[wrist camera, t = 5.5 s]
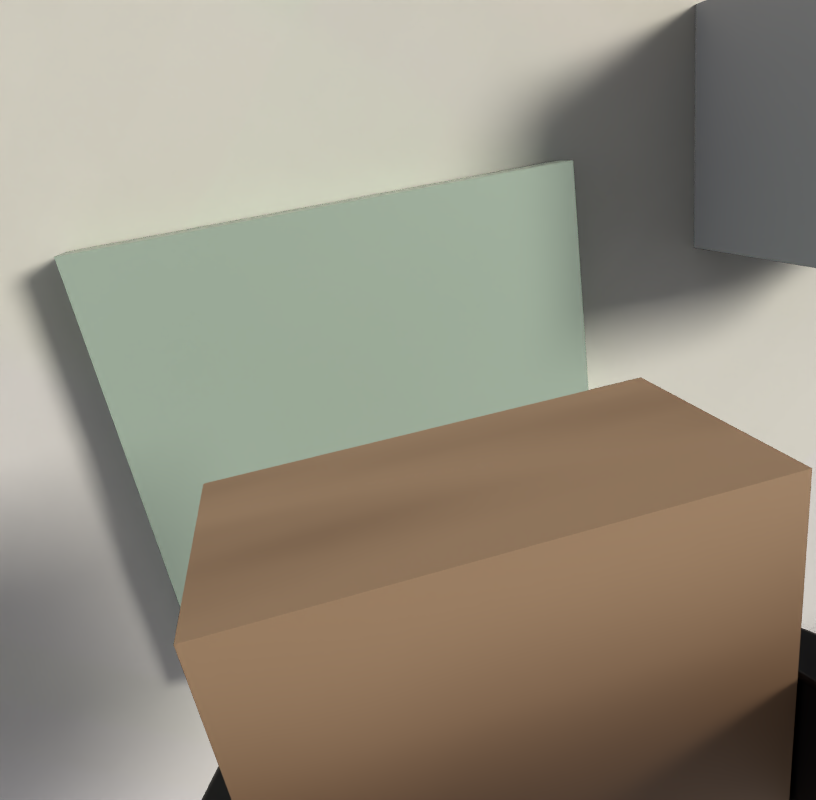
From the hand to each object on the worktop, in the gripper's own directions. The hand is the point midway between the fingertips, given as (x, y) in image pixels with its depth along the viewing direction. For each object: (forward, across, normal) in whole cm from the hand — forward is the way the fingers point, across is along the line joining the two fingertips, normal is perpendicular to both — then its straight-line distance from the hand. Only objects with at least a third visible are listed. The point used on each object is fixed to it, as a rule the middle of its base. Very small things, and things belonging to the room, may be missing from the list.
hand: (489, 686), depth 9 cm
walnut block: (+1, 0, 0) cm, 1 cm away
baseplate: (+10, 0, 0) cm, 10 cm away
